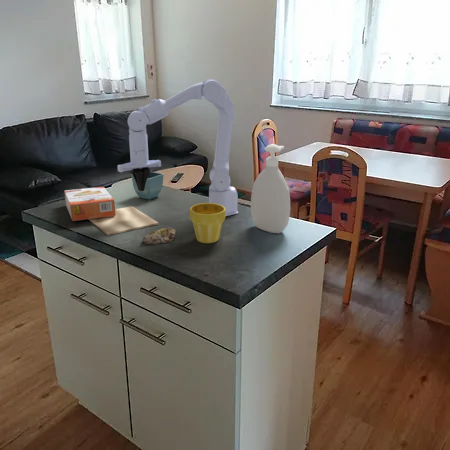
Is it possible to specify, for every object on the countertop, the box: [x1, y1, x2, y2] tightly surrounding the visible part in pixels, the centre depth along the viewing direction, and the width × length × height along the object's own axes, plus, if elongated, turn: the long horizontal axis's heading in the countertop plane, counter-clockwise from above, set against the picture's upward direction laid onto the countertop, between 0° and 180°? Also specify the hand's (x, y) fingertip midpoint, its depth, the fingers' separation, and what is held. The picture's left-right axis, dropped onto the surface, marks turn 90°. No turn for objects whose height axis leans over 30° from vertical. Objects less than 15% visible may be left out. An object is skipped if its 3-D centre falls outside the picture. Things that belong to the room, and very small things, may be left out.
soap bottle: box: [250, 143, 291, 234], centre depth 139 cm, size 14×8×27 cm, turn 47°
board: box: [87, 205, 159, 236], centre depth 150 cm, size 17×20×1 cm
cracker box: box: [64, 186, 116, 222], centre depth 156 cm, size 14×6×21 cm
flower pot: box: [131, 170, 165, 200], centre depth 172 cm, size 9×9×9 cm
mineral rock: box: [142, 227, 176, 245], centre depth 135 cm, size 11×4×8 cm
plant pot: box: [189, 202, 226, 244], centre depth 134 cm, size 10×10×10 cm
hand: (141, 190), depth 151 cm, fingers closed
